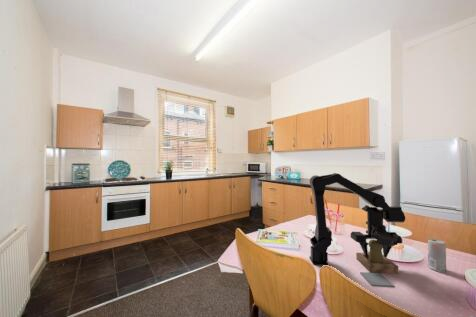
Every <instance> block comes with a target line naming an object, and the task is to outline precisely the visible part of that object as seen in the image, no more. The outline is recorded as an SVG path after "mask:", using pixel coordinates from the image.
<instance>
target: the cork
mask: <svg viewBox="0 0 476 317" xmlns="http://www.w3.org/2000/svg"><path fill="white" fill-rule="evenodd" d="M368 243H369V244H368V247H369V252H368V253H369V259H368V260H369V261H370V262H371V263H380V264H384V262H383V256H382V254H383V245H381V244H379V242H378V241H377V240H376V239H369V241H368Z"/></svg>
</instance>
